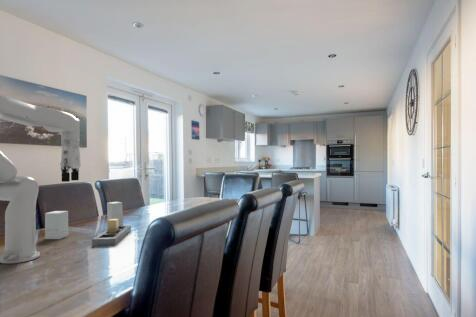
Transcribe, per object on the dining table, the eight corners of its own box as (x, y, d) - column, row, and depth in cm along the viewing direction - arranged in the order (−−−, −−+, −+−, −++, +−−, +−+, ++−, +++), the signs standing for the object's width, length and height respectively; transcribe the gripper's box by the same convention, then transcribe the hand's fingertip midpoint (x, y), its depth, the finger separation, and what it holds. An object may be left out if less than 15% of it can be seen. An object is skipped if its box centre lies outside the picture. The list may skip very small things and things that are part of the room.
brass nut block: (116, 238, 144) (116, 220, 145) (107, 239, 144) (107, 220, 144) (118, 236, 148) (118, 218, 149) (110, 237, 148) (110, 218, 148)
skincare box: (123, 229, 165) (123, 202, 165) (112, 231, 161) (112, 203, 161) (117, 227, 171) (117, 200, 171) (106, 228, 167) (106, 201, 167)
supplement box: (68, 235, 151) (69, 210, 151) (58, 239, 144) (58, 213, 144) (55, 235, 152) (55, 210, 152) (44, 239, 144) (44, 213, 144)
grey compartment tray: (115, 245, 133) (115, 238, 133) (91, 246, 132) (91, 239, 132) (130, 231, 161) (130, 225, 161) (111, 231, 160) (111, 225, 160)
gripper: (70, 143, 132) (70, 182, 132) (86, 145, 149) (86, 179, 149) (52, 143, 131) (52, 182, 131) (70, 145, 149) (70, 179, 148)
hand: (70, 180), depth 140 cm, fingers open, 9 cm apart
